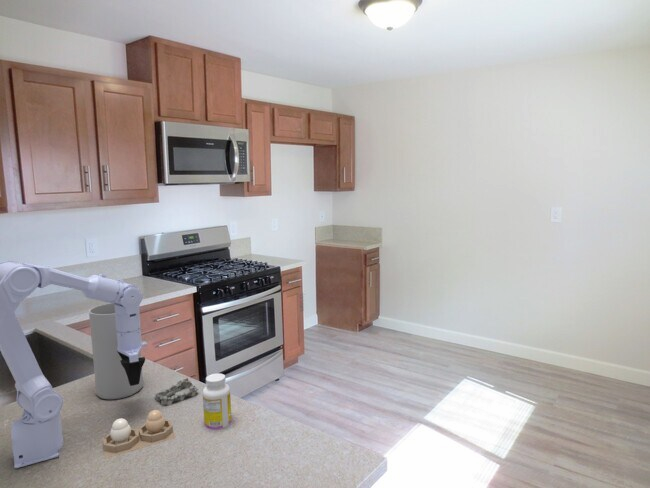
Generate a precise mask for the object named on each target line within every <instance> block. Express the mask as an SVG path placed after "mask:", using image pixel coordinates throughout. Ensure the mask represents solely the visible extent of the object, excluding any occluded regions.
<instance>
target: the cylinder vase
mask: <svg viewBox="0 0 650 488" xmlns="http://www.w3.org/2000/svg"><path fill="white" fill-rule="evenodd" d="M116 305H118V304H116ZM88 315H89V328H90V337H91V338H90V339H91V349H92V359H93V370H94V382H95V391H96V395H97V397H99V398H100V399H103V400H119V399H123V398H127V397H128V398H129V397H131V396H133V395H135V394H137V393H138V392H140V390H142V388H143V385H144V380H143V379H144V377H143V369H142V370H141V375H140V382H139V384H137V385H133V386H130V384H129V381H128V377H127V374H126V372H125V369H124V367H123V366H122V365H121V362H120V360H122V359H121V357H120V355H119V354H118V352H117V347H118V343H117V330H116V318H115V305H114V304H113V303H105V304H100V305H97V306H93V307H92V308H90V309H89V310H88ZM141 351H142V349H141V350H140V352H139V354H138V358H141V357H142V354H141V353H142V352H141Z"/></svg>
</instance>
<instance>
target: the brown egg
mask: <svg viewBox="0 0 650 488" xmlns="http://www.w3.org/2000/svg"><path fill="white" fill-rule="evenodd" d="M146 417H147V418H146V419H145V422H144V424H145V425H146V429H147V430H148V431H149V432H150V435H153V434H157V433H160V432H162V429H163V427H164V425H165V419H166V418H165V417H164V415H163V413H162V412H161V410H158V409H153V410H151V411H149V413H148V414H147V416H146Z"/></svg>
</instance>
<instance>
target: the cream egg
mask: <svg viewBox="0 0 650 488" xmlns="http://www.w3.org/2000/svg"><path fill="white" fill-rule="evenodd" d="M131 428H132V427H131V425H130V424H129V422H128V420H127V419H125V418H121V417H120V418H117V419H115V421H113V423H112V425H111V429H110V432H109V433H110V436H111V439H112V440H113V441H115V445H118V444H121V443H125V442H128V437H129V436H130V434H131Z"/></svg>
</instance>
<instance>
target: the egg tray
mask: <svg viewBox="0 0 650 488" xmlns="http://www.w3.org/2000/svg"><path fill="white" fill-rule="evenodd" d="M173 427H174V426H173V424H172V421H171V419H166V418H165V425H164V427H163V429H162V432H160V433H157V434H153V435H150V432H149V431H148V430H147V429H146V425H145V423H144V424H143V425H141V426H140V427H138V428H132V427H131V434H130V436H129V437H128V442H125V443H121V444H118V445H115V441H113V440H112V439H111V436H110V432H109V433H108V434H107V435H106V436H104V437H102V438H101V439H102V445H103V452H104V459H108V458H112V457H115V456H118V455H119V456H120V455H122V454H125V453H128V452H132V451H135V450H140V449H143V448H146V447H149V446H152V445H156V444H161V443H163V442H166V441H169V440H173V439H176V438H177V437H176V434H175V432H174V428H173Z"/></svg>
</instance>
